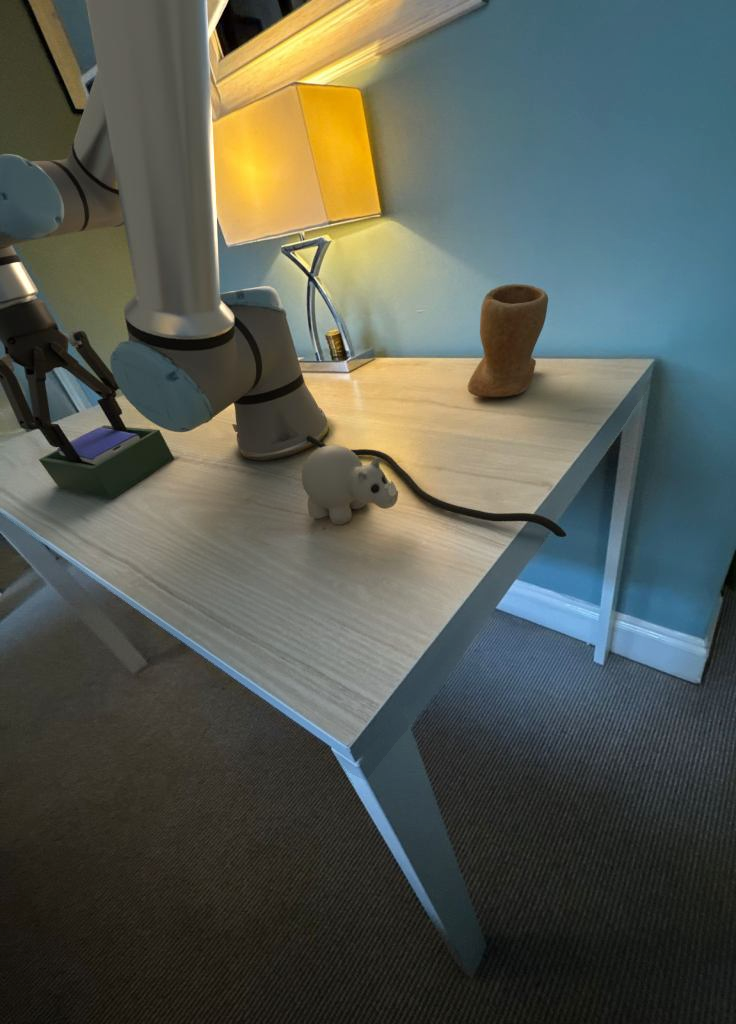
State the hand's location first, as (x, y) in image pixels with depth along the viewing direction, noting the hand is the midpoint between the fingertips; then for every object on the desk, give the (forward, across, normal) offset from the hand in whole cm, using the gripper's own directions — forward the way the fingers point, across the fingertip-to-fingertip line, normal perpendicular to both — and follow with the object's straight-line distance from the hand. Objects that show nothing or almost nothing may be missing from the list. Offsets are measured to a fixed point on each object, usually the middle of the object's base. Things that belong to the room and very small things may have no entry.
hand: (100, 447), depth 74 cm
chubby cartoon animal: (+5, 0, +50) cm, 50 cm away
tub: (+5, 0, 0) cm, 5 cm away
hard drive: (0, 0, 0) cm, 0 cm away
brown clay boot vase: (+5, -39, +57) cm, 69 cm away
